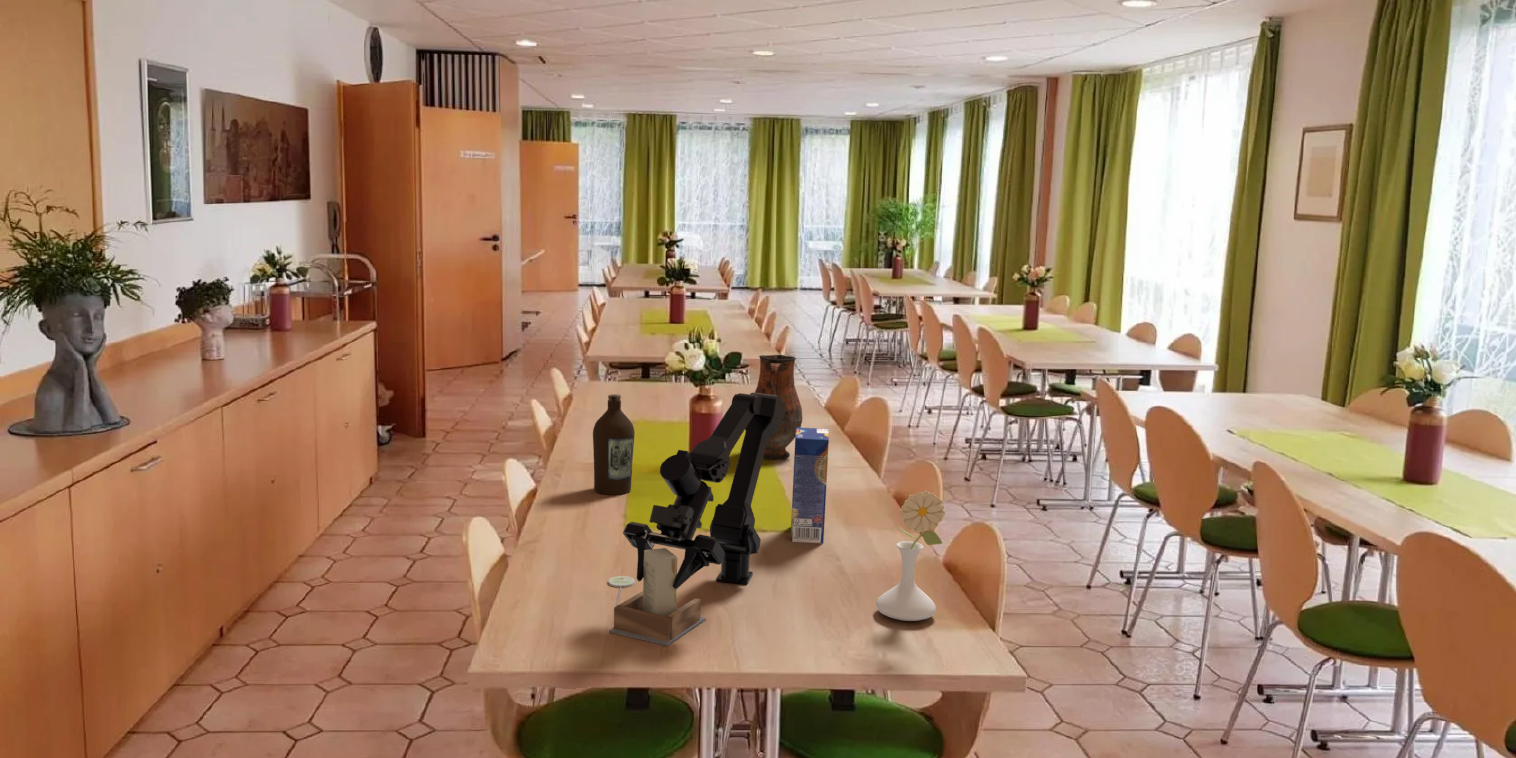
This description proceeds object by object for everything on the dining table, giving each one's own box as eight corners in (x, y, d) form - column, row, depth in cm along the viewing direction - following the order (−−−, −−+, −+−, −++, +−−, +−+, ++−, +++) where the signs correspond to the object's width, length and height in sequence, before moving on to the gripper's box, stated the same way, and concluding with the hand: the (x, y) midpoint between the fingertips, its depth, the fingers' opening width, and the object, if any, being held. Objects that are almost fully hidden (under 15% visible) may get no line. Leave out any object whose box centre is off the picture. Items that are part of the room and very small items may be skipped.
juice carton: (823, 543, 259) (828, 440, 255) (790, 541, 259) (795, 438, 255) (823, 528, 270) (828, 428, 266) (791, 526, 271) (796, 427, 267)
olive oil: (584, 488, 297) (586, 393, 293) (620, 483, 303) (622, 390, 299) (604, 497, 288) (606, 400, 284) (640, 492, 294) (643, 397, 290)
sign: (602, 603, 216) (609, 575, 231) (602, 608, 216) (609, 579, 231) (630, 604, 216) (635, 576, 231) (630, 608, 216) (635, 580, 231)
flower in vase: (862, 613, 217) (870, 485, 213) (900, 600, 225) (908, 476, 221) (917, 634, 208) (926, 501, 204) (955, 619, 216) (964, 491, 212)
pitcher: (801, 450, 349) (806, 353, 344) (798, 467, 328) (803, 364, 323) (747, 447, 350) (751, 350, 345) (741, 463, 329) (745, 360, 324)
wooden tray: (647, 608, 214) (648, 587, 213) (700, 620, 209) (700, 599, 209) (613, 628, 204) (614, 607, 203) (668, 641, 199) (668, 619, 198)
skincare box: (676, 623, 205) (679, 558, 203) (653, 626, 203) (656, 560, 201) (663, 610, 210) (666, 546, 208) (641, 612, 209) (643, 548, 206)
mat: (649, 607, 215) (649, 605, 215) (705, 620, 210) (706, 618, 210) (609, 632, 203) (609, 629, 203) (667, 646, 198) (667, 643, 198)
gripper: (628, 479, 210) (594, 553, 202) (719, 494, 202) (686, 572, 194) (650, 509, 218) (618, 582, 211) (737, 525, 210) (707, 601, 203)
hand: (656, 584), depth 204 cm, fingers closed on skincare box, 7 cm apart
